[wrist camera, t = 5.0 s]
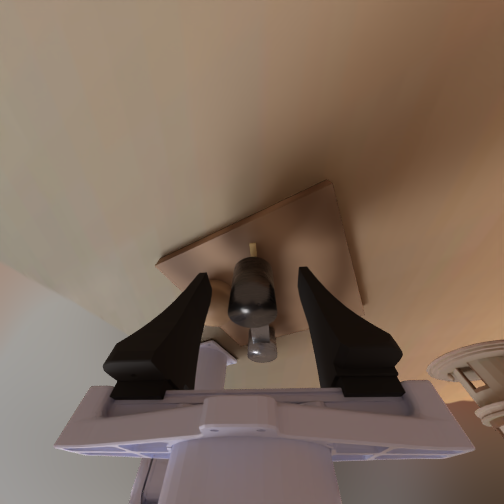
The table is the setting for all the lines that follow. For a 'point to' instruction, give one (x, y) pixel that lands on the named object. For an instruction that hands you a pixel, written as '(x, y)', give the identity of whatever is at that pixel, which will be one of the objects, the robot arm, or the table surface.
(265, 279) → the lever
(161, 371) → the robot arm
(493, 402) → the miniature windmill
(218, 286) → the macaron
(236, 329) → the board
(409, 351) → the table surface
